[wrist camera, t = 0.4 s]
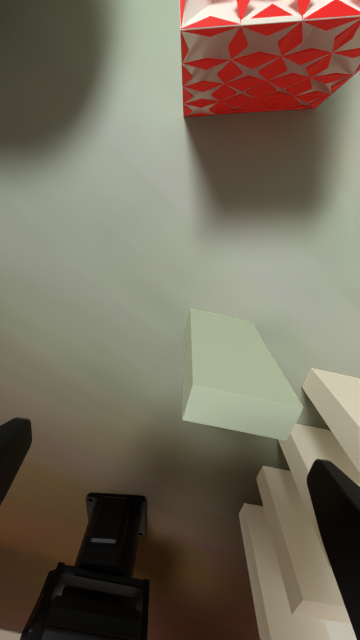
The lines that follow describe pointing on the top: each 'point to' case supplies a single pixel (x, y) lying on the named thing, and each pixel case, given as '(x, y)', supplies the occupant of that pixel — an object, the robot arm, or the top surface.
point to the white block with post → (340, 630)
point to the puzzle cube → (266, 53)
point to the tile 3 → (304, 451)
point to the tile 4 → (337, 407)
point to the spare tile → (234, 378)
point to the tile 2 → (299, 549)
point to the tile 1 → (272, 584)
